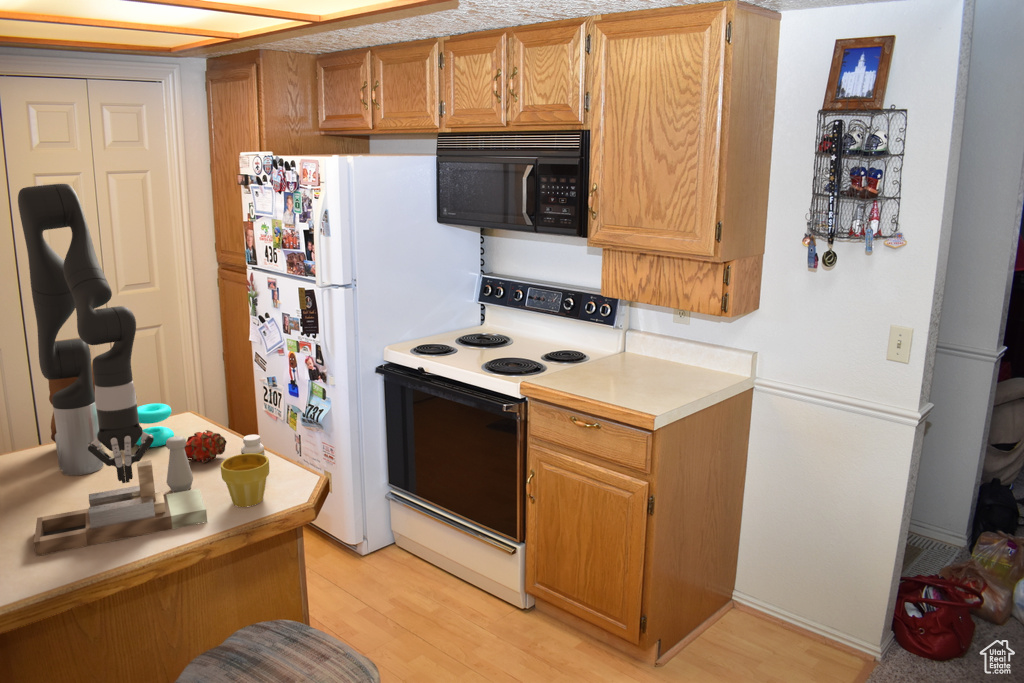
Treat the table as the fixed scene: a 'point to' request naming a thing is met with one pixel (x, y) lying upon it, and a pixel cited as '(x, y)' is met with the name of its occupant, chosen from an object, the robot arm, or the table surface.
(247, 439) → the supplement bottle
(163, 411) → the donuts
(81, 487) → the table surface
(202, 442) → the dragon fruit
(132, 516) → the grey slotted block
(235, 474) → the plant pot
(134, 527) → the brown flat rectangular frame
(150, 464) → the slider block
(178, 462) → the salt shaker
